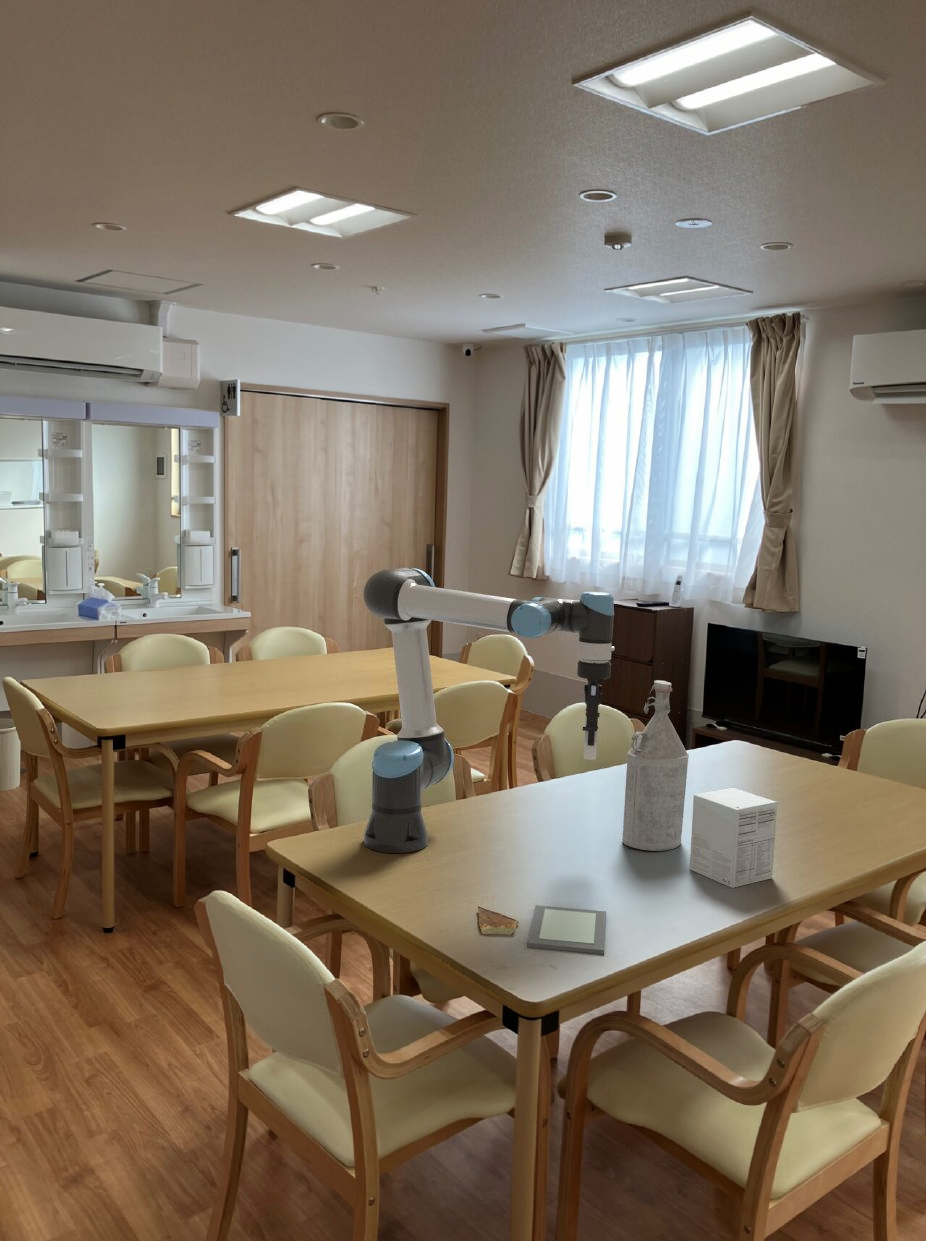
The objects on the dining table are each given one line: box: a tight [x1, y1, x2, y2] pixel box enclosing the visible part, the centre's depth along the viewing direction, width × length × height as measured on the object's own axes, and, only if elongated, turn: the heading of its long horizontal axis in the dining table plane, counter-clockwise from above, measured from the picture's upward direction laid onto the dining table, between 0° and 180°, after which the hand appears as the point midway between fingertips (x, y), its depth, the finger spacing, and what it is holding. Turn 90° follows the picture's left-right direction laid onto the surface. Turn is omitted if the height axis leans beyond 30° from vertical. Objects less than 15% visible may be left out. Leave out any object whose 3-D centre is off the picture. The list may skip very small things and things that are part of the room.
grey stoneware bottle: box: [621, 679, 690, 852], centre depth 242 cm, size 13×17×40 cm
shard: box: [477, 906, 520, 935], centre depth 195 cm, size 11×8×2 cm
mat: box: [526, 904, 607, 955], centre depth 192 cm, size 14×18×1 cm
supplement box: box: [689, 787, 778, 889], centre depth 224 cm, size 13×13×18 cm
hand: (589, 752), depth 231 cm, fingers open, 13 cm apart
